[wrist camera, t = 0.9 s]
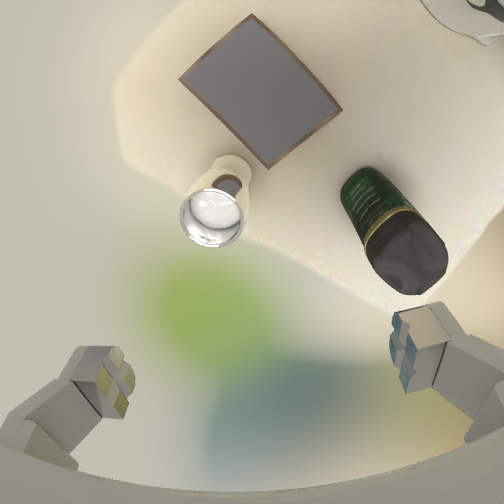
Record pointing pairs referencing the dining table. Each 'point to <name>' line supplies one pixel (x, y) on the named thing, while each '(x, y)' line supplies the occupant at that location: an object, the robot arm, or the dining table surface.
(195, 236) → the beer glass
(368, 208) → the coffee jar
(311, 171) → the dining table surface
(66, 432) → the robot arm
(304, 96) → the walnut plinth
